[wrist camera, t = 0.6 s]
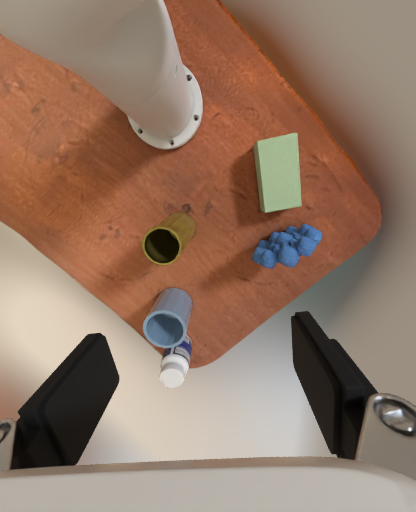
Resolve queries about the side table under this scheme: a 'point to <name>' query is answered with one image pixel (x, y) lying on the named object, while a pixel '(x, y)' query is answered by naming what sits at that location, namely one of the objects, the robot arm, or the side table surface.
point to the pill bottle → (175, 364)
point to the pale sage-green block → (278, 173)
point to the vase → (168, 238)
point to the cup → (168, 318)
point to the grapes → (287, 246)
